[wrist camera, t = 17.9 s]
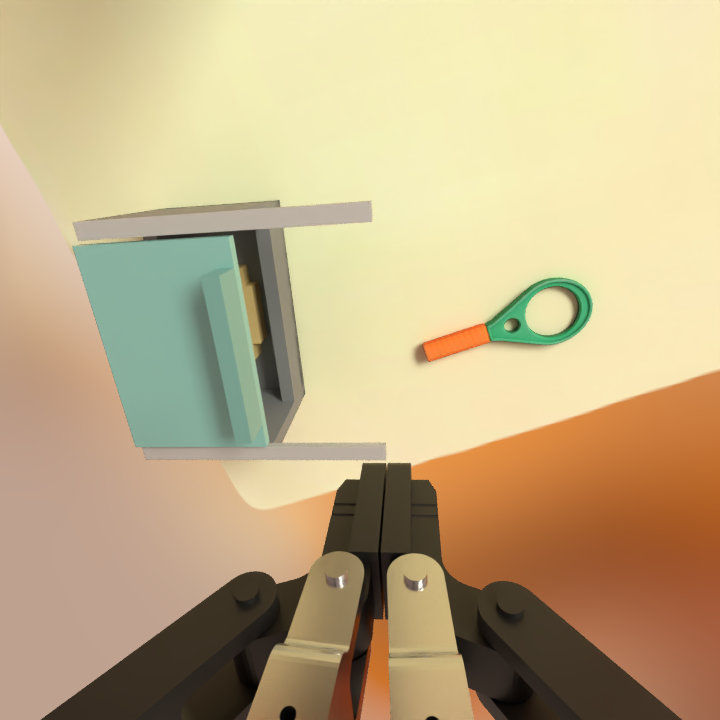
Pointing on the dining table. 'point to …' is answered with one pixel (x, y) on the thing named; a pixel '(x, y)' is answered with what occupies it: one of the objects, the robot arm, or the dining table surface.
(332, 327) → the dining table surface
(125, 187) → the dining table surface
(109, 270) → the lid
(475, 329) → the magnifying glass
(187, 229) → the housing
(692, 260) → the dining table surface
